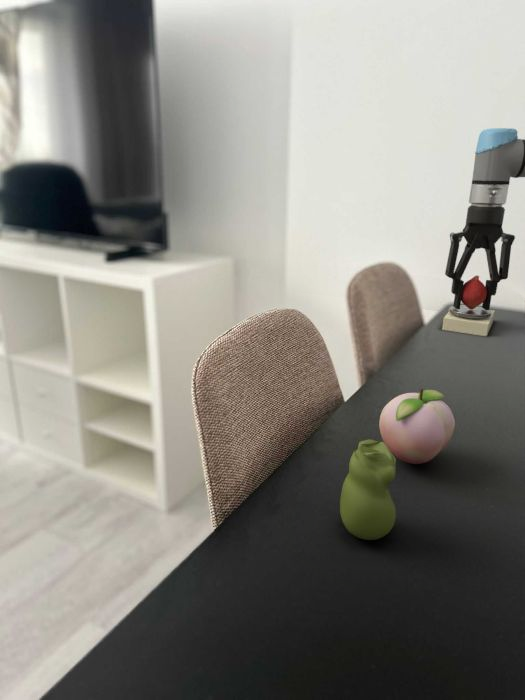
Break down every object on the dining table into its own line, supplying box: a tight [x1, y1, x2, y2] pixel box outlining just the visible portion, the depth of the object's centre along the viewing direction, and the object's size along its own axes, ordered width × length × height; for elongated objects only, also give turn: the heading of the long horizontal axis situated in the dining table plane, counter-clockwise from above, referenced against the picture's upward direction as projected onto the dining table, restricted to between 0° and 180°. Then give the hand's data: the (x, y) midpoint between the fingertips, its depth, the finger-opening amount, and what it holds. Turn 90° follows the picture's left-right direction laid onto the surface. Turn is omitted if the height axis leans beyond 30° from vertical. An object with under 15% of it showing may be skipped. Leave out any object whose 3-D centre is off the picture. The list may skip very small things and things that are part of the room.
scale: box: [441, 303, 496, 337], centre depth 122 cm, size 14×10×4 cm
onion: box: [461, 275, 487, 309], centre depth 118 cm, size 6×6×8 cm
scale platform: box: [448, 305, 491, 318], centre depth 120 cm, size 9×9×1 cm
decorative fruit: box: [378, 388, 456, 465], centre depth 62 cm, size 9×8×10 cm
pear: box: [339, 438, 397, 541], centre depth 49 cm, size 6×5×10 cm
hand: (470, 308), depth 119 cm, fingers closed on onion, 6 cm apart
